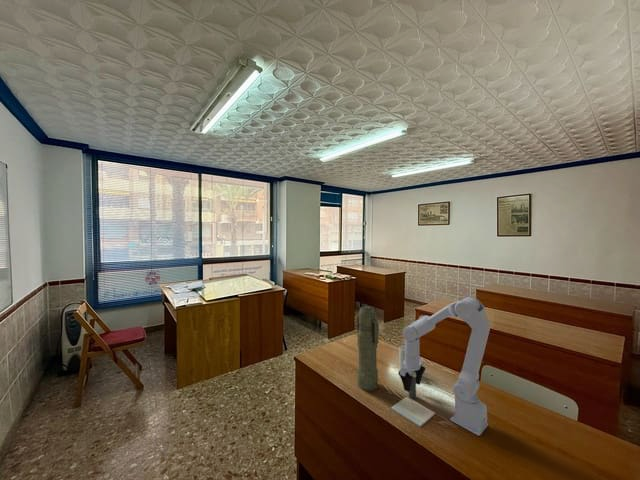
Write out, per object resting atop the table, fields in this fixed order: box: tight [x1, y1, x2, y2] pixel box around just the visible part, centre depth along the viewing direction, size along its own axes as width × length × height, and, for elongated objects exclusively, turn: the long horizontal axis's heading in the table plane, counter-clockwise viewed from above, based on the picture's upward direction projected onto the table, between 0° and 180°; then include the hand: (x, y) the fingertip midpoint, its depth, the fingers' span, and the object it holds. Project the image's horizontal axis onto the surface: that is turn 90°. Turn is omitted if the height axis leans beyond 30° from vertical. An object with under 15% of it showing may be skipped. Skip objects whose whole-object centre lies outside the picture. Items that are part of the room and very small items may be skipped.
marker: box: [408, 371, 417, 400], centre depth 104 cm, size 3×3×10 cm
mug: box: [398, 345, 409, 373], centre depth 123 cm, size 10×7×12 cm, turn 128°
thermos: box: [356, 305, 380, 392], centre depth 112 cm, size 9×12×35 cm
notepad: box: [391, 396, 436, 428], centre depth 95 cm, size 12×10×1 cm
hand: (412, 387), depth 104 cm, fingers open, 7 cm apart
